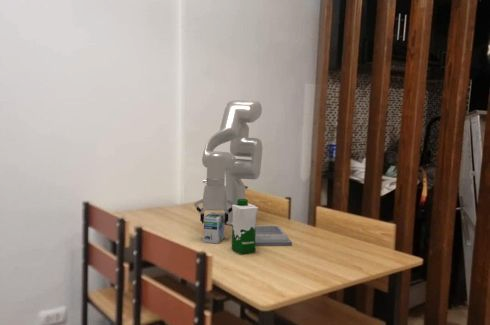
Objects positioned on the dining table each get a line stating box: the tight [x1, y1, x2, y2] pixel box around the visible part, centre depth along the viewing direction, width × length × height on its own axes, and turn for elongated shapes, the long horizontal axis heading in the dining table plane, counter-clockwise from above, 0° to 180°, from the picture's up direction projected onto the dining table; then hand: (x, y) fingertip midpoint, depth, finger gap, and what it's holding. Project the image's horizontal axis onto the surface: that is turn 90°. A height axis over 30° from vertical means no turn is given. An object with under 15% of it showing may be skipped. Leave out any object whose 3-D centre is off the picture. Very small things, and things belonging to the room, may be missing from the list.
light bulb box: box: [203, 211, 226, 245], centre depth 183 cm, size 11×7×11 cm, turn 168°
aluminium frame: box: [255, 225, 288, 241], centre depth 187 cm, size 15×15×2 cm
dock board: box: [255, 232, 293, 247], centre depth 187 cm, size 19×19×2 cm
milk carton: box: [231, 198, 259, 255], centre depth 170 cm, size 9×9×20 cm
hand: (214, 222), depth 183 cm, fingers open, 9 cm apart
